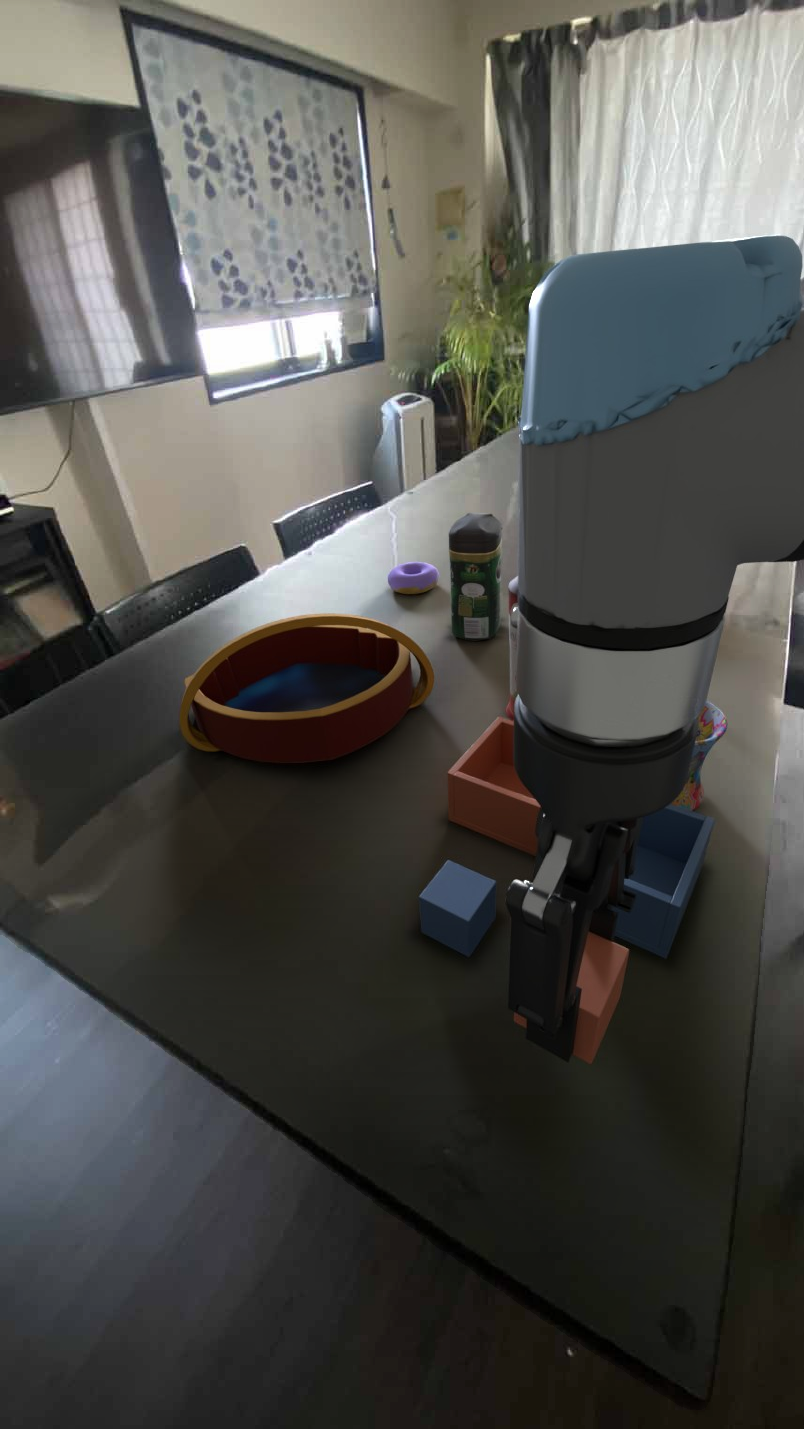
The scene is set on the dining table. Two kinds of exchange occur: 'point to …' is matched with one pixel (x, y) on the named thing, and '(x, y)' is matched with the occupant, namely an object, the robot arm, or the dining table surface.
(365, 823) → the dining table surface
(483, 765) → the terracotta bin
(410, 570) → the donut
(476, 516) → the coffee jar
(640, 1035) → the dining table surface
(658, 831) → the slate bin
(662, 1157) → the dining table surface
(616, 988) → the terracotta block
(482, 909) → the slate block
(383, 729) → the decorative basket
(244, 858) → the dining table surface
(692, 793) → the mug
